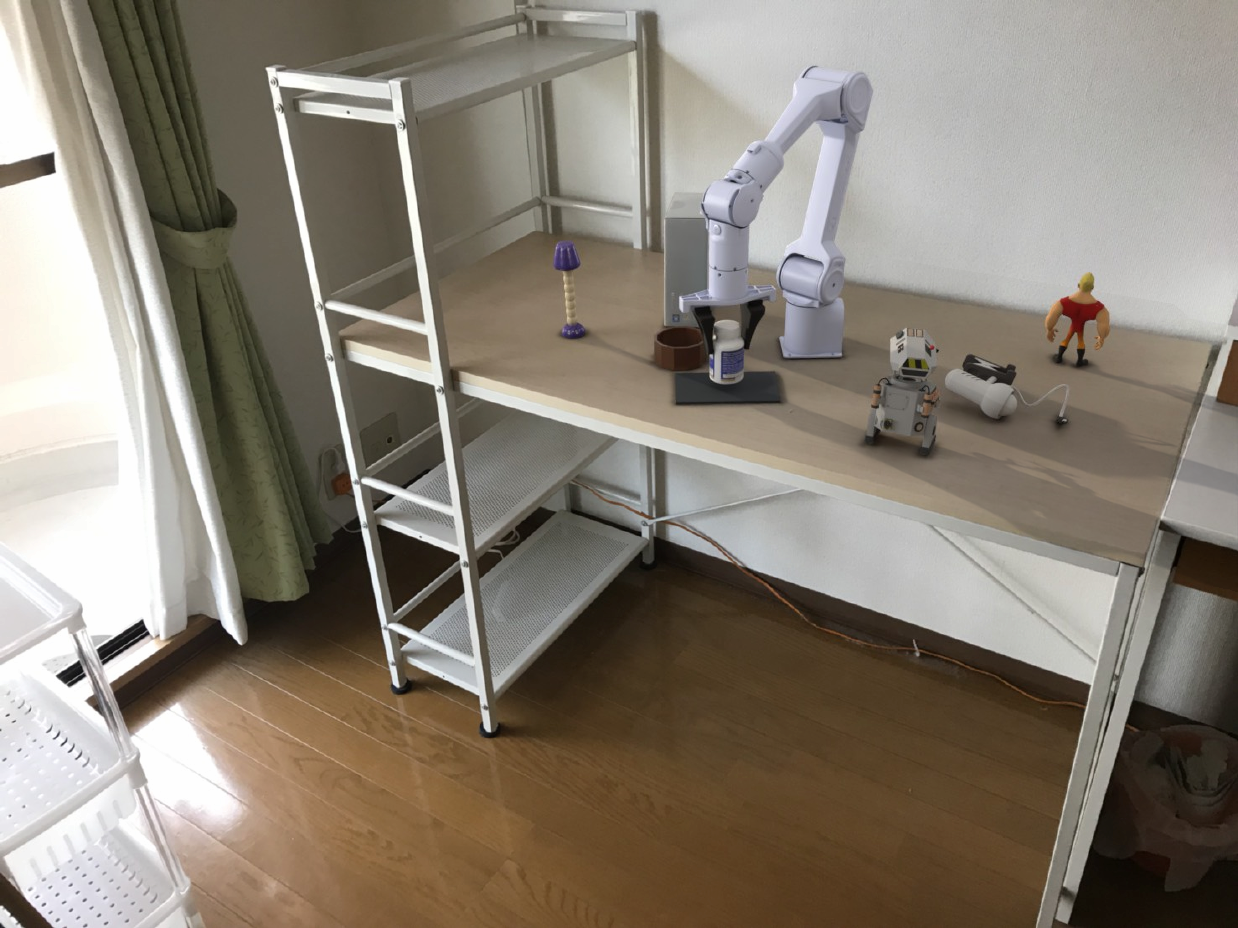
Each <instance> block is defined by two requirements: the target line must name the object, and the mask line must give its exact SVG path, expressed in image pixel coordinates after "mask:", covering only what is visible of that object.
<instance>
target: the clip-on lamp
mask: <svg viewBox="0 0 1238 928" xmlns="http://www.w3.org/2000/svg"><path fill="white" fill-rule="evenodd" d="M961 367H962V369H960V368H954V369H952V370H950V371H948V373H947V374H946V376H945V379H944V384H945V388H946V389H947V390H948V391H951V392H952V393H954V394H956V395H958V396H960V397H962V398H964V399H967V400H968V401H970V402H972V403H974V404H977V406H978V405H979V407H980V409H981V410H982V412H983V414H985V415H986V416H988V417H990V418H992V419H996V420H997V419H1000V418H1001V417H1002V416H1003V417H1004V416H1009V415H1011V414H1013V413H1014V412H1015V411H1016V409H1017V407H1018V400H1017V397H1016V396H1015V395H1014V394H1015V393H1016V395H1017V396H1018V398H1019V400H1020V402H1021V403H1022V405H1023V406H1024V407H1025V408H1028V409H1029V408H1033V407H1036V406H1038V405H1039V404H1041V403H1042V402H1043V401H1044V400H1046V399H1047V398H1048V397H1050V396H1051V395H1052V394H1053V393H1055V392H1056V391H1058V390H1059V389H1061V388H1065V389H1066V394H1065V398H1064V401H1063V404H1062V405H1061V409H1060V411H1059V413H1058V416H1057V417H1056V420H1055V421H1057V423H1058V424H1060V425H1063V424H1066V425H1067V424H1068V423H1069V418H1066V417H1064V413H1065V410H1066V407H1067V405H1068V401H1069V398H1070V393H1071V389H1070V386H1069V385H1068V384H1066V383H1065V384H1064V383H1063V384H1060V385H1057V386H1056V387H1054V388H1052V389H1051V390H1049V392H1047V393H1046V394H1044V395H1043V396H1042V397H1040V398H1039V399H1038V400H1036V401H1035V402H1033V403H1027V402H1026V401H1025V400H1024V398H1023V396H1022V393H1021V392H1020V390H1019V389H1018V388H1017V387H1015V386H1014V385H1013V382H1014V381H1015V379H1016V376H1017V371H1016V369H1017V366H1016V365H1014V364H1012V363H1008V364H1007V365H1006V367H1005V366H1003V365H1000V364H997V363H995V362H992V361H991V360H987V359H984V358H983V357H980V356H977V355H975V354H973V353H968V354H967V355H966V356H965V358H964V360H963V362H962V366H961Z"/></svg>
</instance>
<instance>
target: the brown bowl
mask: <svg viewBox="0 0 1238 928" xmlns="http://www.w3.org/2000/svg"><path fill="white" fill-rule="evenodd" d="M653 351H654V354H653V356H654V359H653V360H654V363H655V364H656V365H657V366H658V367H660V368H661V369H665V370H670V371H690V370H693V369H698V368H701V367H702V366H703V365H704V364H705V363H707V361H708V354H707V353H706V351H705V350H704V343H703V338H702V335H701V332H700V329H699V328H698V327H687V326H680V327H675V326H669V327H667V328H662V329H660V330H659V331H657V332H656V333H655V334H654V335H653Z"/></svg>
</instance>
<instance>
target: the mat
mask: <svg viewBox="0 0 1238 928" xmlns="http://www.w3.org/2000/svg"><path fill="white" fill-rule="evenodd" d="M674 397H675V401H674V403H675V405H719V404H720V405H721V404H722V405H725V404H773V403H774V404H778V403H779V404H781V403H782V398H781V395H780V389H779V385H778V380H777V375H776V371H774V370H773V371H772V370H768V371H744V375H743V379H742V380H741V381H739V382H737V383H734V384H719V383H716V382H714V381H712V380H711V378H710V372H674Z"/></svg>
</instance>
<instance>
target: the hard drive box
mask: <svg viewBox="0 0 1238 928" xmlns="http://www.w3.org/2000/svg"><path fill="white" fill-rule="evenodd" d="M703 195H704V192H683V191H681V192H674V193H673V195H672V198H671V200H670V203H669V205H668V208H667V210H666V213H665V215H664V226H663V227H664V230H663V231H664V233H663V235H664V244H663V245H664V249H663V251H664V252H663V253H664V255H663V256H664V257H663V258H664V262H663V266H664V269H663V270H664V273H663V275H664V276H663V281H664V282H663V285H664V286H663V287H664V288H663V289H664V290H663V291H664V292H663V323H664V324H663V325H664V326H665V327H680V326H687V327H692V328H699V326H698V324H697V321H696V319H695V317H694V315H693V313H692V311H690V312H689V313H683V312H682V311H681V310H680V308H679V297H680V296H686V295H690V294H694V293H697V292H701V291H704V290H707V289H709V232H708V230H707V229H706V219H705V217H704V216H703V214H702V212H701V208H700V203H701V202H702V200H703Z"/></svg>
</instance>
